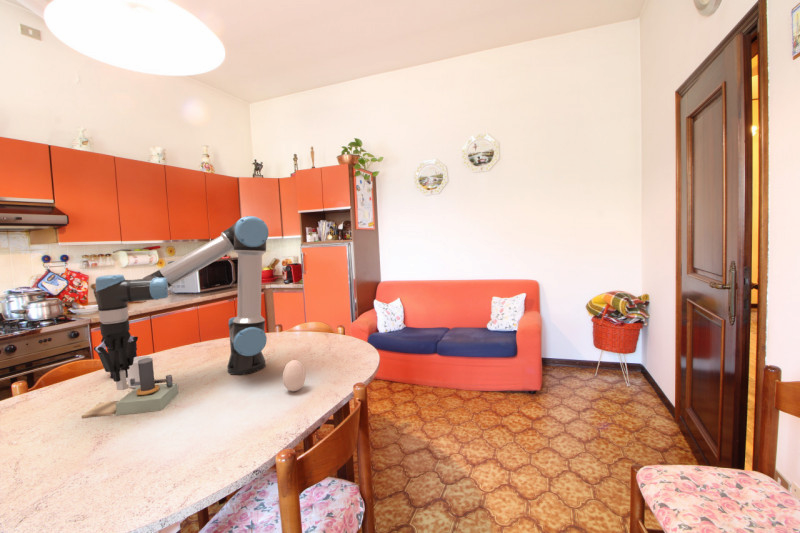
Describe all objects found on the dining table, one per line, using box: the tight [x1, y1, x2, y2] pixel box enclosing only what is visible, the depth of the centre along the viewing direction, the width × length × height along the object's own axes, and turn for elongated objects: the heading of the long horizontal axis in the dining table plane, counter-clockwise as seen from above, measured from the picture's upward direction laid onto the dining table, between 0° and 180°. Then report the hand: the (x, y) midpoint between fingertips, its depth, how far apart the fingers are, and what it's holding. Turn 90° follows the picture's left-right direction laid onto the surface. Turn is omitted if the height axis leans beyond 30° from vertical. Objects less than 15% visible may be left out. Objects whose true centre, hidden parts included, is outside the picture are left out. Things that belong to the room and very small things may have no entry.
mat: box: [81, 400, 119, 419], centre depth 116 cm, size 9×9×1 cm
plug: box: [136, 357, 160, 396], centre depth 119 cm, size 6×6×16 cm
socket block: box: [116, 382, 179, 416], centre depth 120 cm, size 13×13×4 cm
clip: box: [130, 374, 174, 387], centre depth 122 cm, size 13×2×4 cm, turn 101°
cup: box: [126, 355, 153, 389], centre depth 136 cm, size 8×12×10 cm
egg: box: [282, 359, 307, 392], centre depth 126 cm, size 8×8×11 cm
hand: (122, 389), depth 118 cm, fingers closed
